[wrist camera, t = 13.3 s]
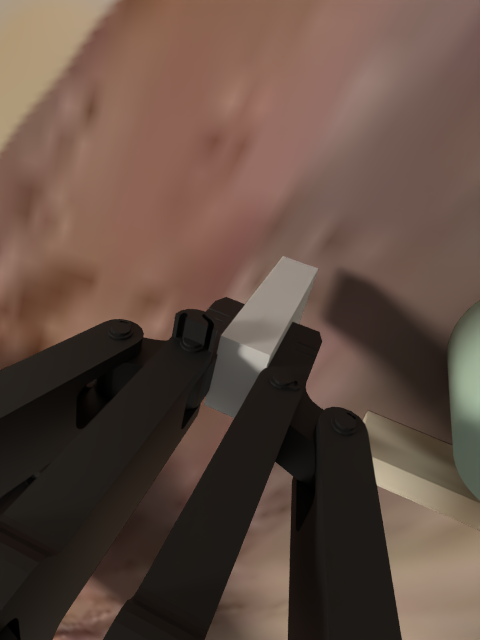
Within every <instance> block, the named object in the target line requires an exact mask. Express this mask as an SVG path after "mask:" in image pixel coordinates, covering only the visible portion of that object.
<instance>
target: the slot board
mask: <svg viewBox="0 0 480 640" xmlns="http://www.w3.org/2000/svg"><path fill="white" fill-rule="evenodd" d="M363 422H364V423H365V425H366V428H367V430H368V435H369V441H370V447H371V453H372V459H373V466H374V472H375V478H376V484H377V486H380V487H382V488H384V489H386V490H389V491H391V492H393V493H396V494H398V495H400V496H402V497H405V498H407V499H409V500H411V501H414V502H416V503H418V504H420V505H423V506H425V507H427V508H430V509H432V510H434V511H436V512H439V513H441V514H443V515H445V516H448V517H450V518H452V519H454V520H457V521H459V522H461V523H464V524H466V525H468V526H470V527H473V528H475V529H477V530H479V531H480V500H479V499H477V498H476V497H475V496H474V495H473V494H472V492H471V491H470V490H469V489H468V488H467V486H466V485H465V483H464V482H463V480H462V478H461V477H460V475H459V473H458V470H457V468H456V465H455V461H454V456H453V446H452V445H450V444H448V443H445V442H443V441H440V440H438V439H436V438H433V437H431V436H428V435H426V434H423V433H421V432H419V431H416V430H414V429H411V428H409V427H406V426H404V425H402V424H399V423H397V422H394V421H392V420H389V419H387V418H385V417H382V416H380V415H377V414H375V413H373V412H370V411H367V413H366V415H365V417H364V419H363Z"/></svg>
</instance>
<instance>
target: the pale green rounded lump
mask: <svg viewBox="0 0 480 640" xmlns="http://www.w3.org/2000/svg"><path fill="white" fill-rule="evenodd" d="M447 366H448V381H449V397H450V412H451V427H452V443H453V456H454V461H455V465H456V468H457V470H458V473H459V475H460V477H461V478H462V480H463V482H464V483H465V485H466V486H467V488H468V489H469V490H470V491H471V492H472V494H473V495H474V496H475V497H476V498H477V499H479V500H480V300H479V301H478V302H477V303H475V304H474V305H473V306H472V307H471V308H470V309H468V310H467V312H466V313H465V314H464V315H463V316H462V317H461V318H460V320H459V321H458V323H457V324H456V326H455V327H454V329H453V332H452V334H451V336H450V339H449V343H448V349H447Z"/></svg>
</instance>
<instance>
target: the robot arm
mask: <svg viewBox="0 0 480 640" xmlns="http://www.w3.org/2000/svg"><path fill="white" fill-rule="evenodd" d="M317 271H318V268H315V267H312V266H309V265H306V264H304V263H301V262H298V261H295V260H293V259H290V258H287V257H284V256H283V257H282V258H281V259H280V260H279V262H278V263H277V264H276V266H275V267H274V268H273V269H272V271H271V272H270V273H269V275H268V276H267V277H266V278H265V280H264V281H263V282H262V283H261V285H260V286H259V287H258V289H257V290H256V291H255V292H254V294H253V295H252V296H251V298H250V299H249V300H248V301H247V303H246V304H243V303H240V302H238V301H235V300H233V299H230V298H227V297H225V298H222V299H220V300H217V301H215V302H214V303H213V304H212V305H211V306H210V308H209V309H208V310H207V311H206V312H204V311H201V310H197V309H186V310H181V311H180V312H178V313H176V315H175V321H174V327H173V333H172V337H171V338H170V339H169V340H168V341H162V340H154V339H149V338H143V335H144V333H143V330H142V328H141V327H140V326H139V325H138V324H136V323H134V322H131V321H129V320H123V319H113V320H109V321H106V322H103V323H101V324H99V325H97V326H95V327H93V328H90V329H88V330H86V331H84V332H82V333H80V334H78V335H75V336H73V337H71V338H69V339H67V340H65V341H63V342H60V343H58V344H56V345H54V346H52V347H50V348H48V349H45V350H43V351H41V352H39V353H37V354H35V355H33V356H30V357H28V358H26V359H24V360H22V361H20V362H18V363H16V364H13V365H11V366H9V367H7V368H5V369H3V370H1V371H0V640H53V637H54V635H55V632H56V630H57V628H58V626H59V624H60V622H61V621H62V619H63V617H64V616H65V614H66V613H67V611H68V610H69V608H70V607H71V605H72V604H73V602H74V601H75V599H76V598H77V596H78V595H79V593H80V592H81V590H82V589H83V587H84V586H85V584H86V583H87V581H88V580H89V578H90V577H91V575H92V574H93V572H94V571H95V569H96V567H97V566H98V564H99V563H100V561H101V560H102V558H103V557H104V555H105V554H106V552H107V551H108V549H109V548H110V546H111V545H112V543H113V542H114V540H115V539H116V537H117V536H118V534H119V533H120V531H121V530H122V528H123V527H124V525H125V524H126V522H127V521H128V519H129V518H130V516H131V515H132V513H133V512H134V510H135V509H136V507H137V506H138V504H139V503H140V501H141V500H142V498H143V497H144V495H145V494H146V492H147V491H148V489H149V488H150V486H151V485H152V483H153V482H154V480H155V478H156V477H157V475H158V474H159V472H160V471H161V469H162V468H163V466H164V465H165V463H166V462H167V460H168V459H169V457H170V456H171V454H172V453H173V451H174V450H175V448H176V447H177V445H178V444H179V442H180V441H181V439H182V438H183V436H184V435H185V433H186V432H187V430H188V429H189V427H190V426H191V424H192V423H193V421H194V420H195V418H196V417H197V415H198V412H199V408H200V404H201V402H202V400H203V399H204V397H205V396H206V400H205V404H204V405H206V406H208V407H211V408H213V409H215V410H217V411H220V412H222V413H224V414H227V415H229V416H231V417H233V418H234V420H233V422H232V423H231V425H230V427H229V429H228V431H227V432H226V434H225V436H224V438H223V439H222V441H221V443H220V445H219V447H218V448H217V450H216V452H215V454H214V455H213V457H212V459H211V461H210V463H209V464H208V466H207V468H206V470H205V472H204V473H203V475H202V477H201V479H200V480H199V482H198V484H197V486H196V488H195V489H194V491H193V493H192V495H191V496H190V498H189V500H188V502H187V504H186V505H185V507H184V509H183V511H182V512H181V514H180V516H179V518H178V520H177V521H176V523H175V525H174V527H173V528H172V530H171V532H170V534H169V536H168V537H167V539H166V541H165V543H164V545H163V546H162V548H161V550H160V552H159V553H158V555H157V557H156V559H155V561H154V562H153V564H152V566H151V568H150V569H149V571H148V573H147V575H146V577H145V578H144V580H143V582H142V584H141V585H140V587H139V589H138V590H137V592H136V594H135V595H134V596H133V598H131V599H129V600H127V602H126V603H125V604H124V606H123V607H122V608H121V610H120V612H119V613H118V615H117V616H116V618H115V620H114V621H113V623H112V625H111V627H110V628H109V630H108V632H107V634H106V635H105V637H104V639H103V640H204V639H205V637H206V634H207V632H208V629H209V627H210V624H211V622H212V619H213V617H214V614H215V612H216V609H217V607H218V604H219V602H220V599H221V596H222V594H223V591H224V589H225V586H226V584H227V581H228V579H229V576H230V574H231V571H232V569H233V566H234V564H235V561H236V559H237V556H238V554H239V551H240V549H241V546H242V544H243V541H244V538H245V536H246V533H247V531H248V528H249V526H250V523H251V521H252V518H253V516H254V513H255V511H256V508H257V506H258V503H259V501H260V498H261V496H262V493H263V491H264V488H265V485H266V483H267V480H268V478H269V475H270V473H271V470H272V468H273V465H274V463H275V462H276V463H278V464H279V465H280V466H281V467H283V468H284V469H285V470H286V471H287V472H289V473H290V474H291V475H292V476H293V479H292V500H291V539H290V577H289V616H288V640H402V638H401V632H400V626H399V619H398V613H397V607H396V601H395V595H394V589H393V583H392V576H391V570H390V564H389V558H388V552H387V546H386V539H385V533H384V527H383V521H382V515H381V509H380V503H379V496H378V490H377V484H376V478H375V472H374V466H373V459H372V453H371V447H370V441H369V435H368V430H367V428H366V425H365V423H364V422H363V421H362V420H361V418H360V417H359V416H357V415H356V414H354V413H353V412H351V411H349V410H347V409H344V408H340V407H330V408H326V409H325V410H323V409H321V408H320V407H319V406H317V405H316V404H315V403H314V402H313V401H312V400H311V399H310V398H309V396H308V394H307V392H306V382H307V379H308V377H309V374H310V372H311V369H312V366H313V364H314V361H315V359H316V356H317V354H318V351H319V349H320V346H321V343H322V339H321V336H320V332H318V331H315V330H313V329H310V328H308V327H305V326H303V325H300V324H299V322H300V320H301V317H302V314H303V311H304V308H305V305H306V303H307V300H308V297H309V294H310V291H311V288H312V285H313V283H314V280H315V277H316V274H317ZM206 394H207V395H206Z"/></svg>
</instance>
